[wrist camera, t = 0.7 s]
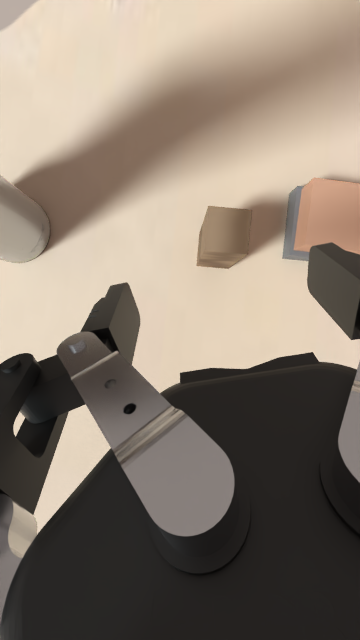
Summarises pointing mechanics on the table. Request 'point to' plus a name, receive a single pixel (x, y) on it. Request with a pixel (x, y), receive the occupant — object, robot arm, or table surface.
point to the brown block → (223, 237)
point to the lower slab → (293, 227)
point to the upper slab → (329, 215)
